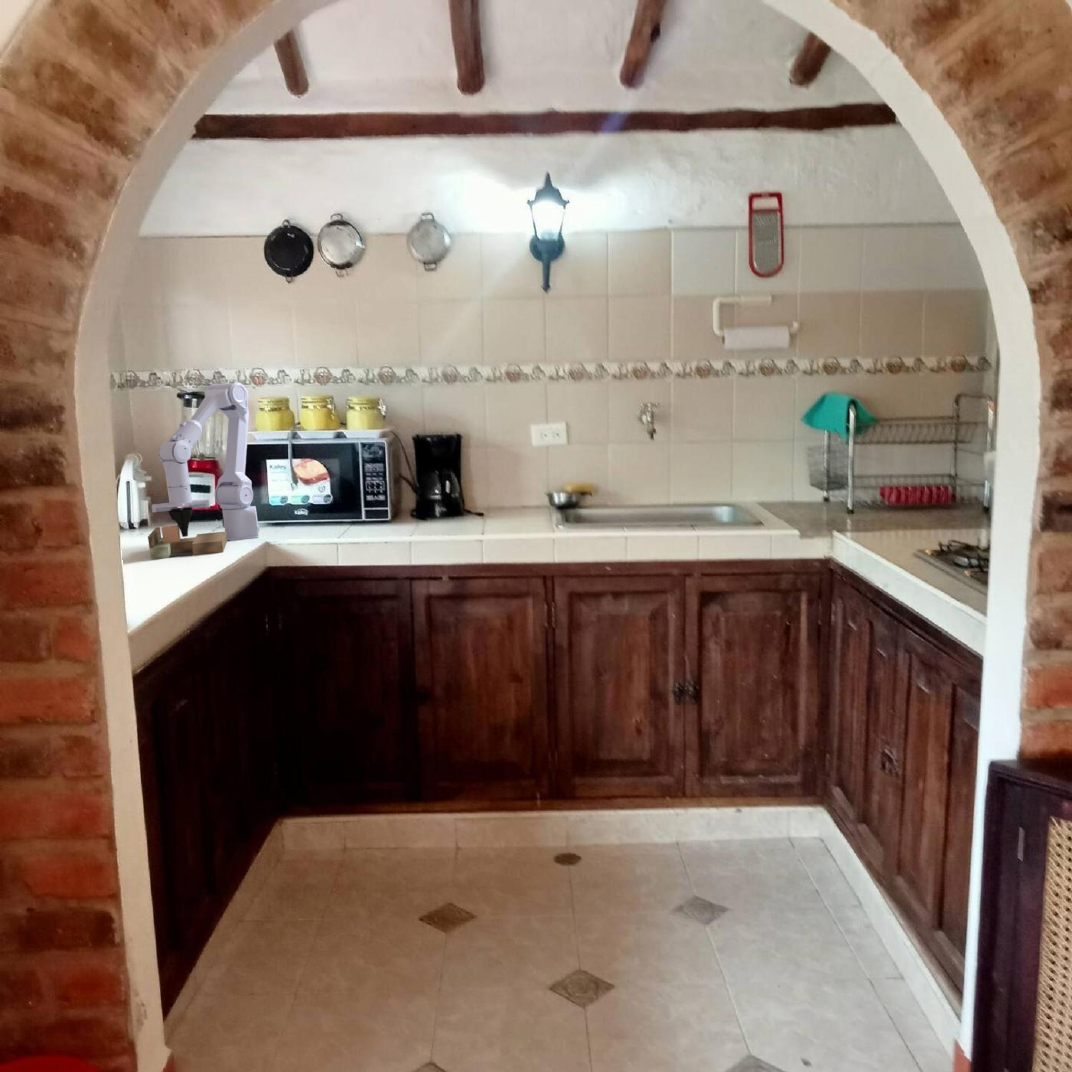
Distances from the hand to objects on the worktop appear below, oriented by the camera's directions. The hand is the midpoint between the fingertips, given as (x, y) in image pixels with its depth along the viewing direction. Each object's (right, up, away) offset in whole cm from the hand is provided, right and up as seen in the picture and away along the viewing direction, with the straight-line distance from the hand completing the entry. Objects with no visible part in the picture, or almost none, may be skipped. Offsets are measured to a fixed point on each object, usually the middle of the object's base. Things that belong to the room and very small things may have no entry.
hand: (185, 536), depth 254 cm
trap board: (+1, -4, +1) cm, 4 cm away
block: (-3, -1, -1) cm, 4 cm away
